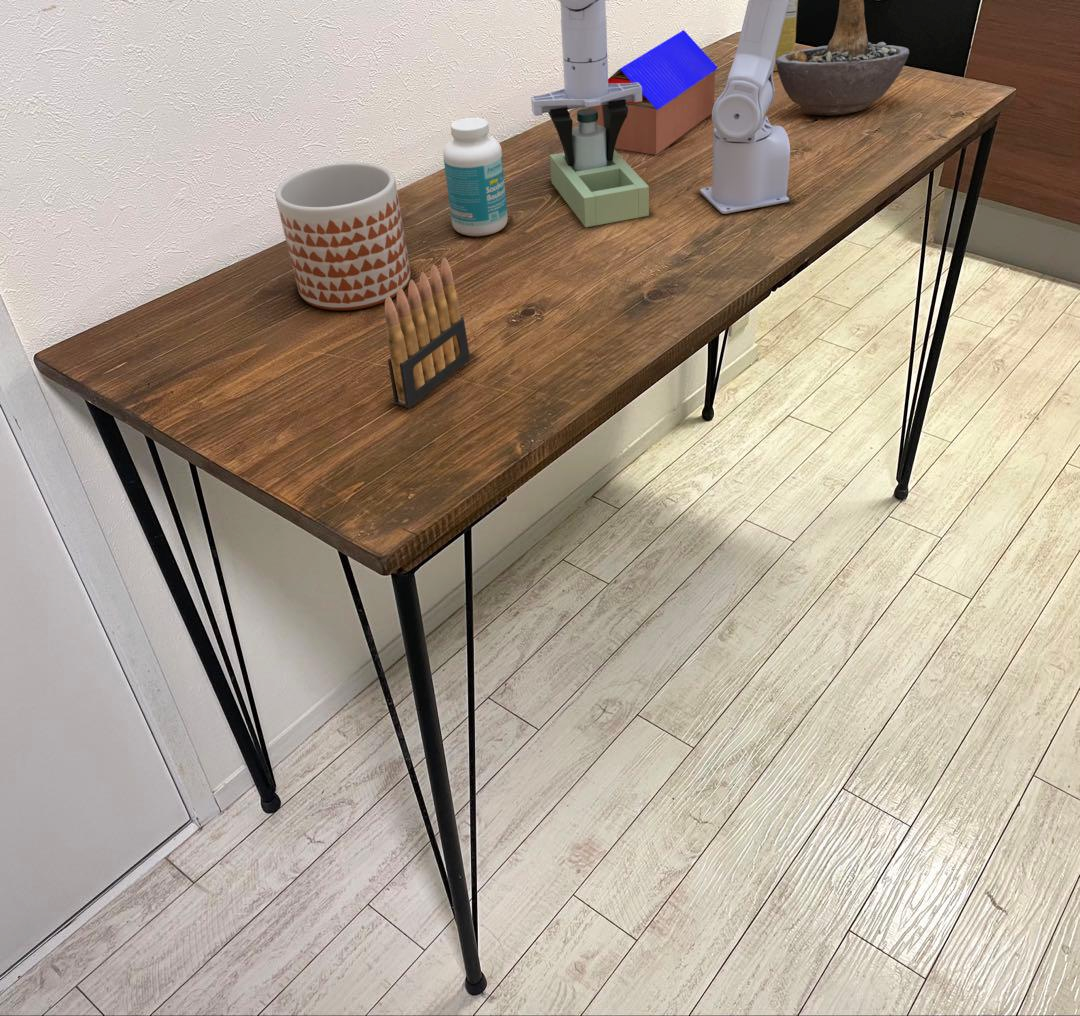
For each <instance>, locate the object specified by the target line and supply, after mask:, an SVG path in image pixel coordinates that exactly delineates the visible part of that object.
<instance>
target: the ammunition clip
mask: <svg viewBox="0 0 1080 1016" xmlns="http://www.w3.org/2000/svg"><path fill="white" fill-rule="evenodd" d="M429 273H430V275H429V279H428V276H427V275H426V273H425V272H424V271H421V272H420V276H419V289H418V287H417V285H416V283H415V281H414V280H413V279H411V278H410V281H409V283H408V291H407V292H408V293H407V294H408V298H407V296H406V293H405V291H404V290H402V289H401V288H400V287H399V288H398V292H397V295H396V305H395V303H394V301H393V300H392V299H393V298H390V297H389V296H387V297H386V300H385V302H384V317H385V326H386V339H387V340H386V341H387V346H388V351H389V357H390V358H389V359H387V363H388V364H387V365H388V370H389V374H390V375H389V376H390V382H391V389H392V395H393V400H394V404H395V405H397V406H401V407H403V408H407V409H410V408H413V406H415V404H417V403H418V402H419V401H421V400H422V399H423V398H424V397H425V396H427V395H428V394H429V393H430V392H432V391H433V390H434V389H436V388H437V387H438V386H439V385H441V384H442V383H443V382H444V381H445V380H446V379H448V378H449V377H450V376H451V375H453V374H454V373H456V372H457V371H458V370H459V369H460V368H461V367H463V366H464V365H465V364H466V363H468V362H469V361H470V360H471V354H470V349H469V348H470V347H469V341H468V336H467V331H466V323H465V318H464V317H462V316H461V312H460V303H459V296H458V293H457V291H456V287H455V282H454V277H453V276H454V275H453V272H452V268H451V266H450V263H449V261H448V260H447V258H446V257H445V256H443V257H442V259H441V264H440V271H439V270H438V267H437V266H436V265H435V264H432V265H431V267H430V272H429Z"/></svg>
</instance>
